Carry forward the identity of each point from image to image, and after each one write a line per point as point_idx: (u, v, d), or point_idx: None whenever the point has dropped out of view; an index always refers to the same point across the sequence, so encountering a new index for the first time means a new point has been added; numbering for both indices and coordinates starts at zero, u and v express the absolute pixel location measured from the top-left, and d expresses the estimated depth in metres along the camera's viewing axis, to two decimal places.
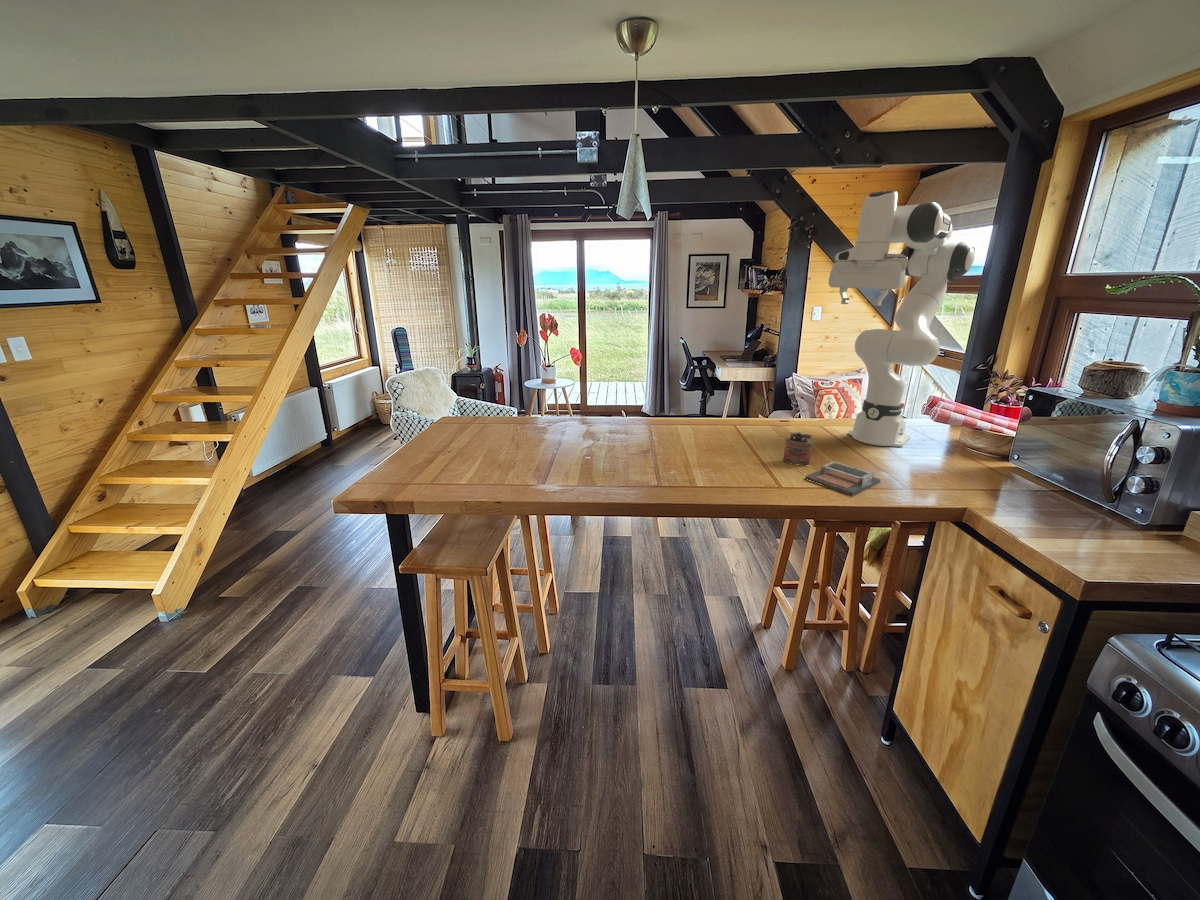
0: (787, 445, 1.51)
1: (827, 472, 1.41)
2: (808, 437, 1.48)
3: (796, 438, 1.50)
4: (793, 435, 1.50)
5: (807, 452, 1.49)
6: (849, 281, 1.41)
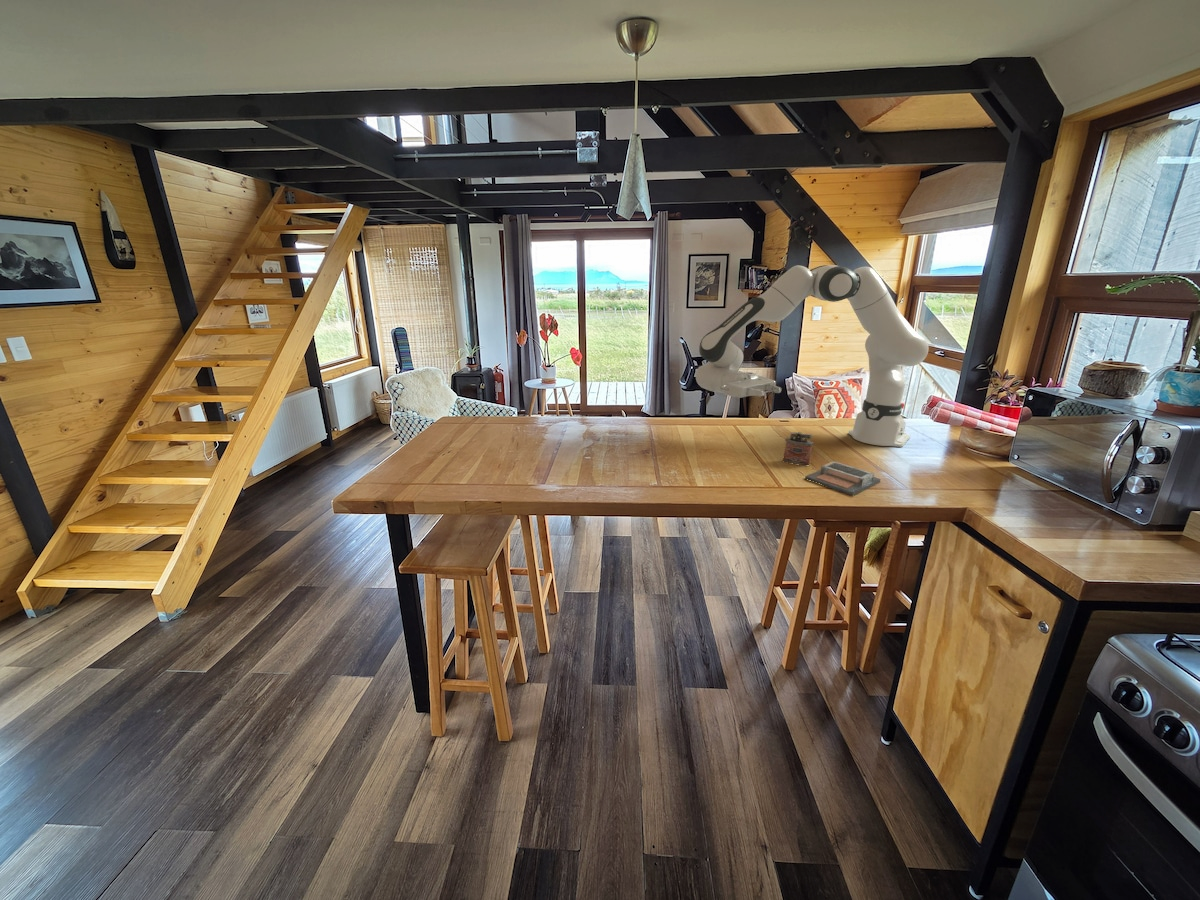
0: (787, 445, 1.51)
1: (827, 472, 1.41)
2: (808, 437, 1.48)
3: (796, 438, 1.50)
4: (793, 435, 1.50)
5: (807, 452, 1.49)
6: None
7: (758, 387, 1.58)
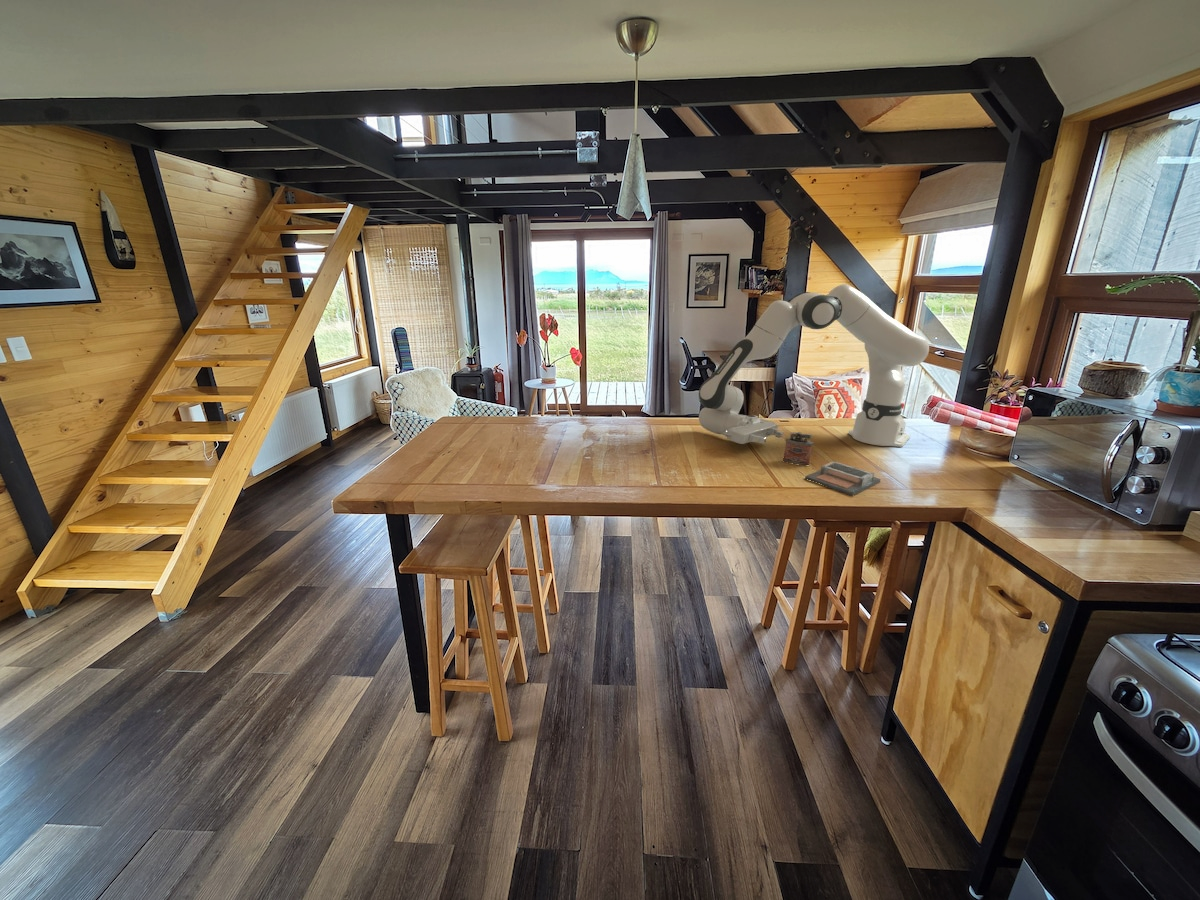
0: (787, 445, 1.51)
1: (827, 472, 1.41)
2: (808, 437, 1.48)
3: (796, 438, 1.50)
4: (793, 435, 1.50)
5: (807, 452, 1.49)
6: None
7: (760, 431, 1.62)
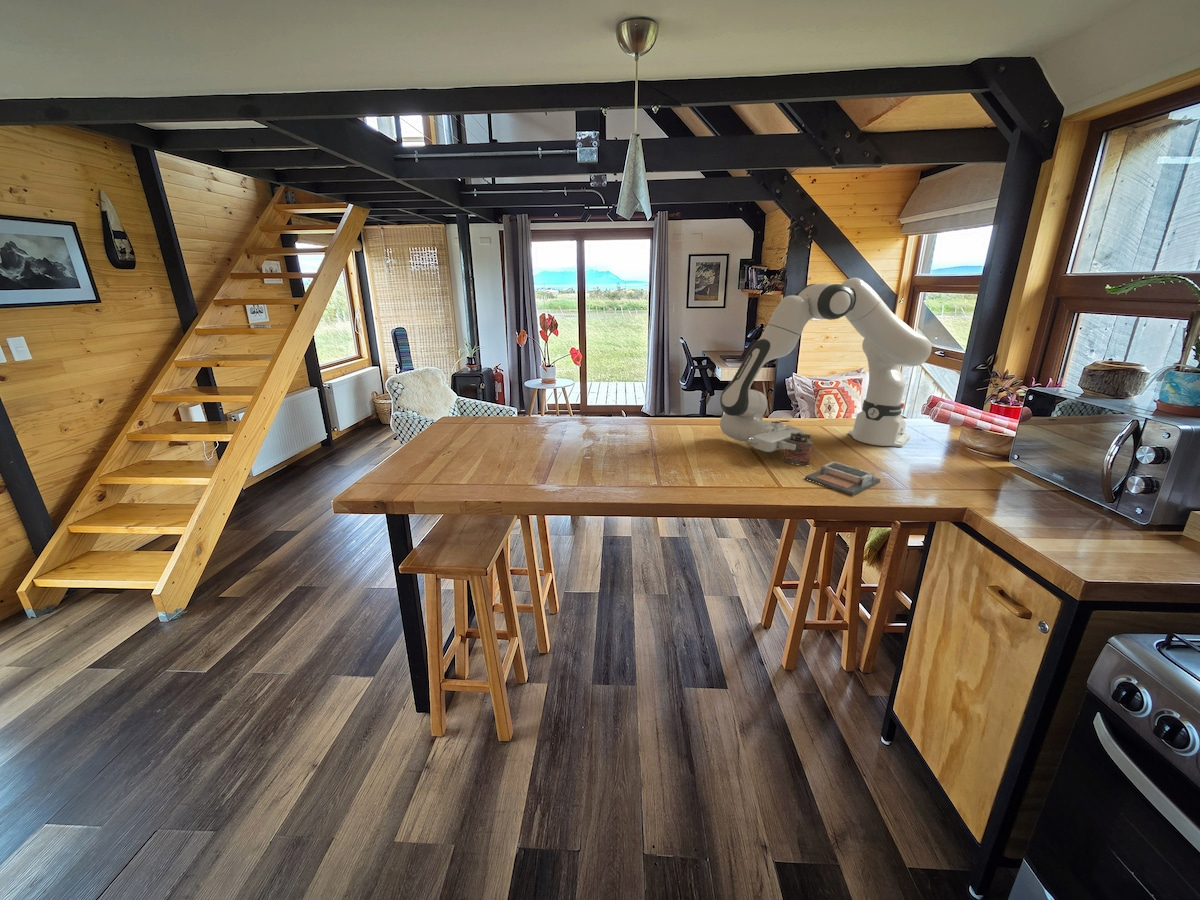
0: None
1: (827, 472, 1.41)
2: (808, 437, 1.48)
3: (796, 438, 1.50)
4: (793, 435, 1.50)
5: (807, 452, 1.49)
6: None
7: None
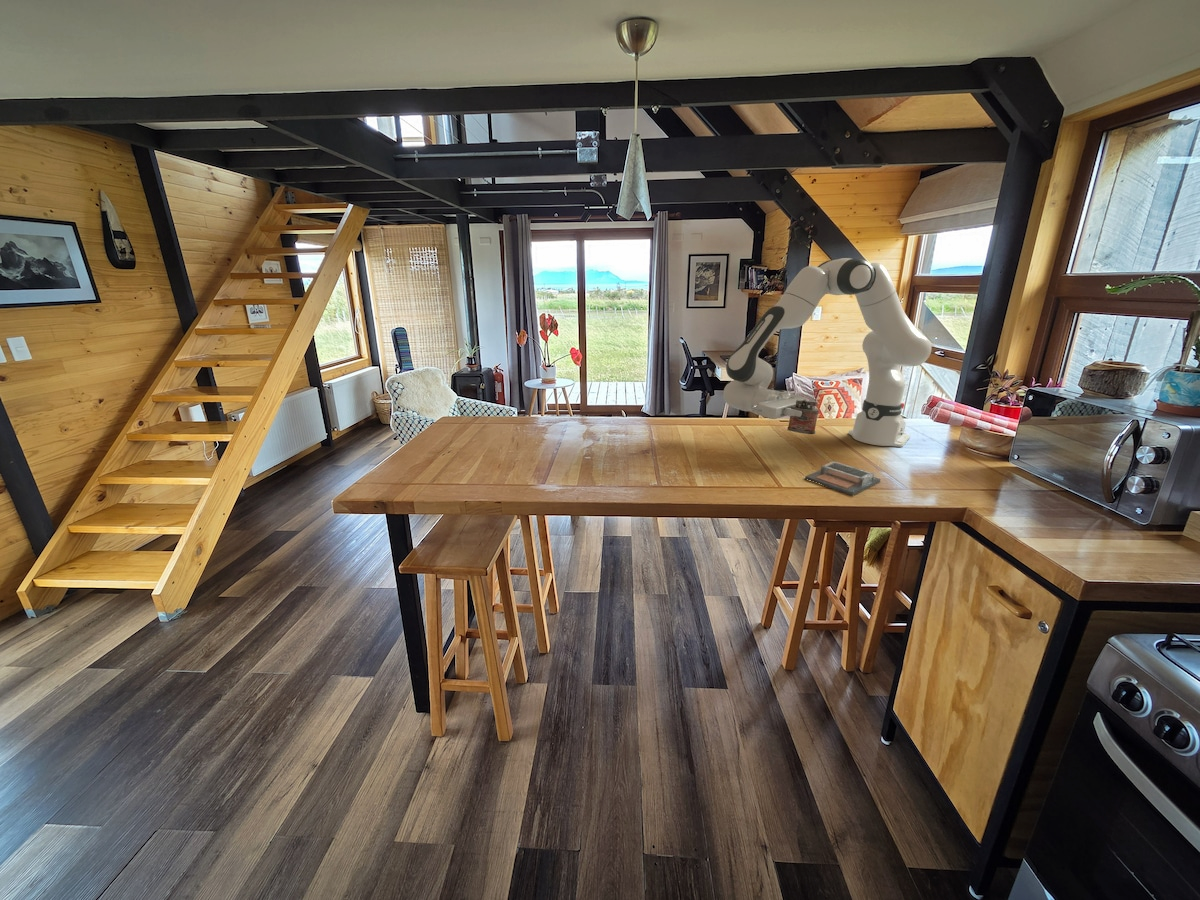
0: None
1: (827, 472, 1.41)
2: (814, 404, 1.44)
3: (801, 405, 1.46)
4: (798, 402, 1.47)
5: (812, 419, 1.45)
6: None
7: None
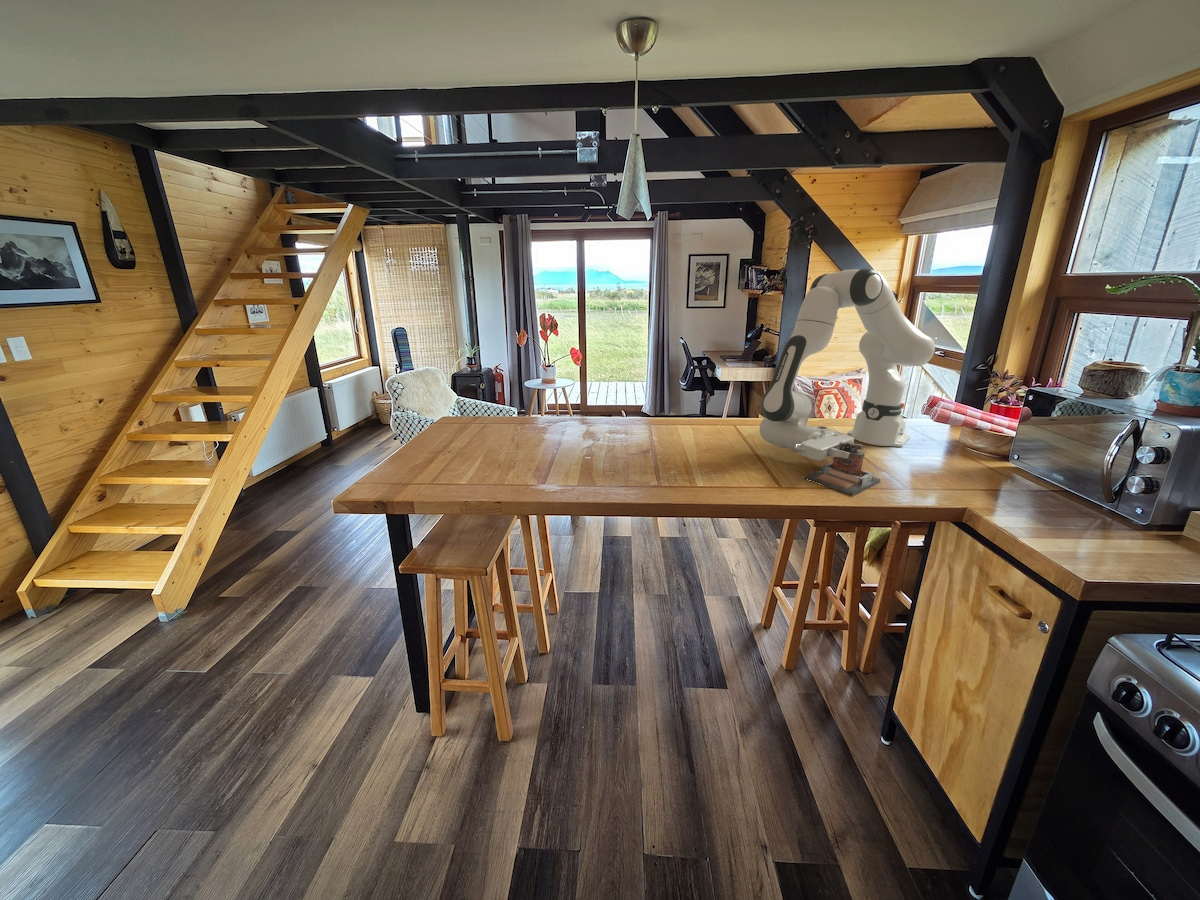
0: None
1: (827, 472, 1.41)
2: (858, 447, 1.36)
3: (845, 448, 1.38)
4: (842, 445, 1.38)
5: (857, 463, 1.37)
6: None
7: (836, 446, 1.41)
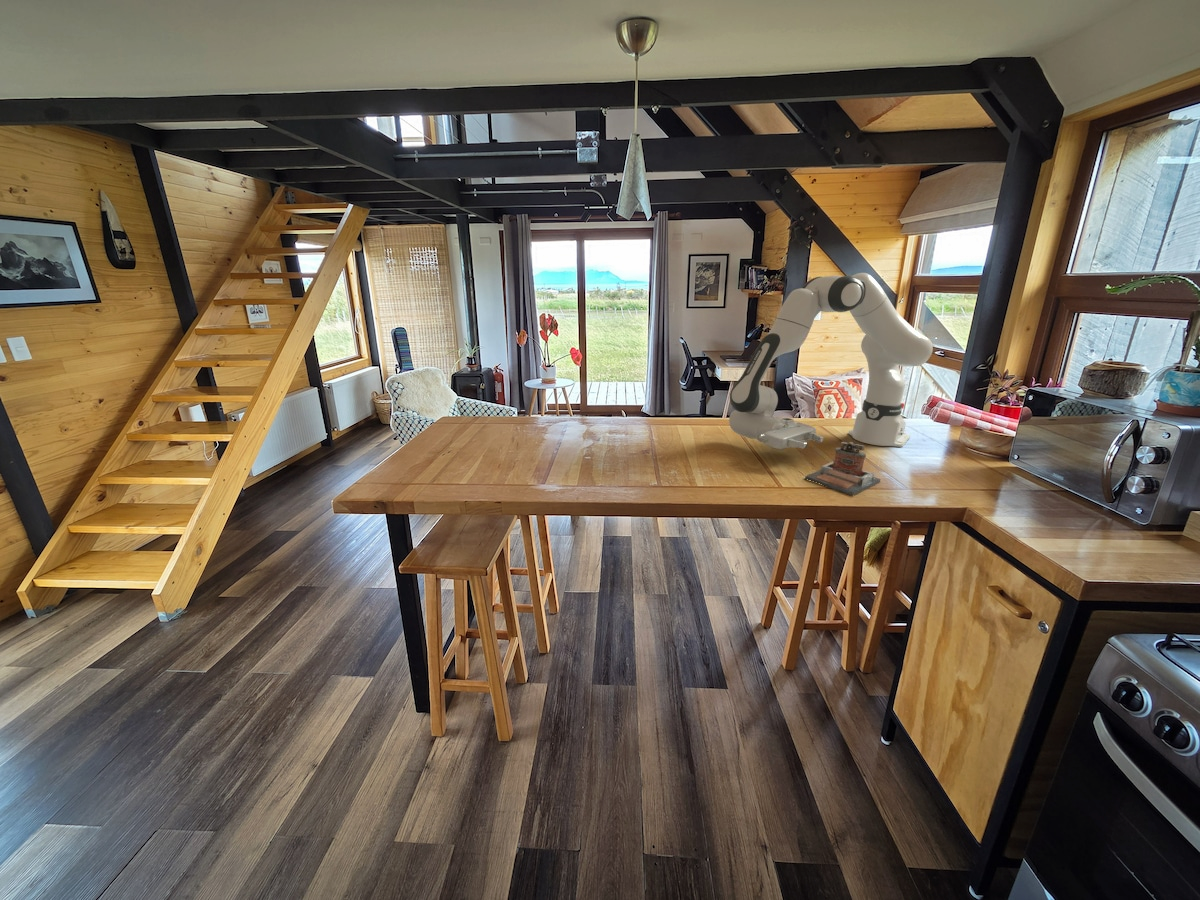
0: (836, 455, 1.40)
1: (827, 472, 1.41)
2: (860, 448, 1.36)
3: (847, 448, 1.38)
4: (844, 445, 1.39)
5: (858, 464, 1.37)
6: None
7: (798, 436, 1.50)
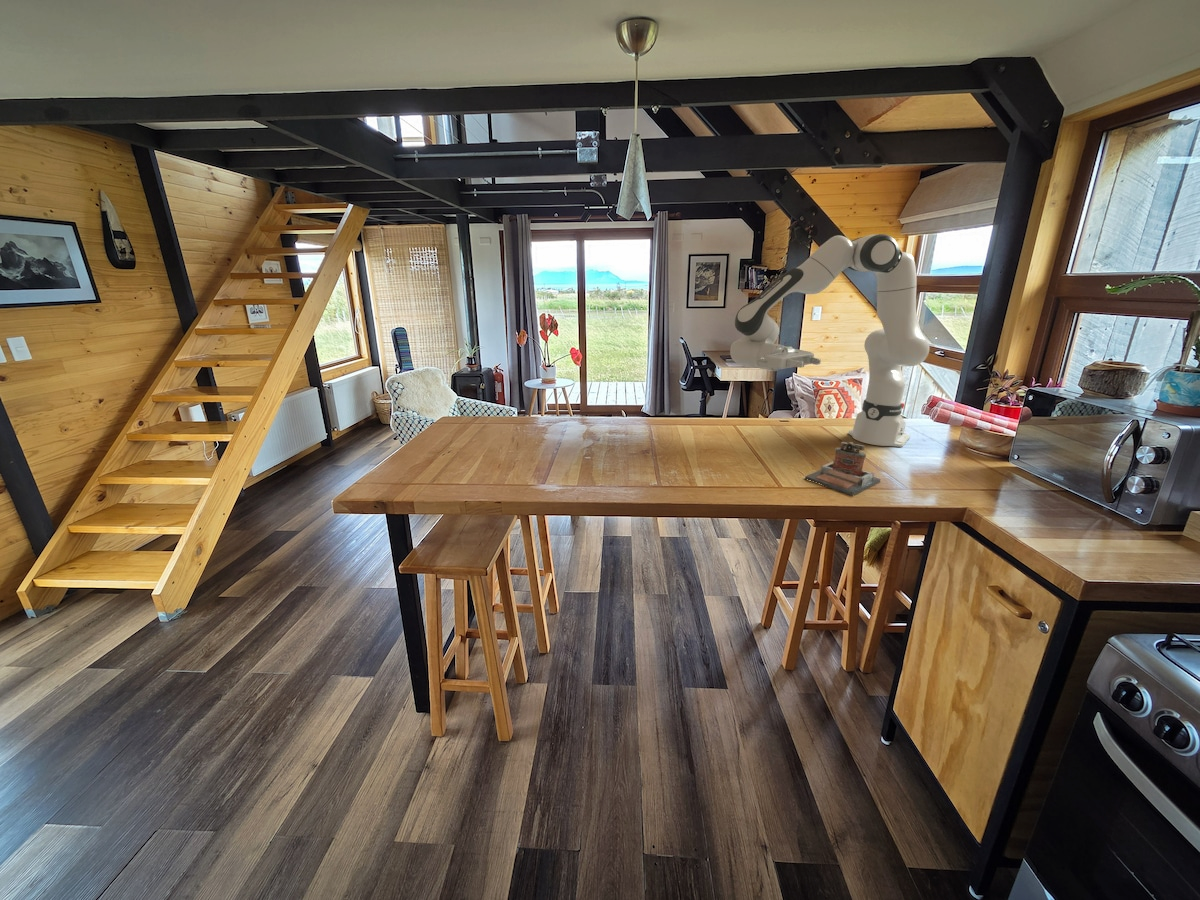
0: (836, 455, 1.40)
1: (827, 472, 1.41)
2: (860, 448, 1.36)
3: (847, 448, 1.38)
4: (844, 445, 1.39)
5: (858, 464, 1.37)
6: None
7: (796, 359, 1.55)
